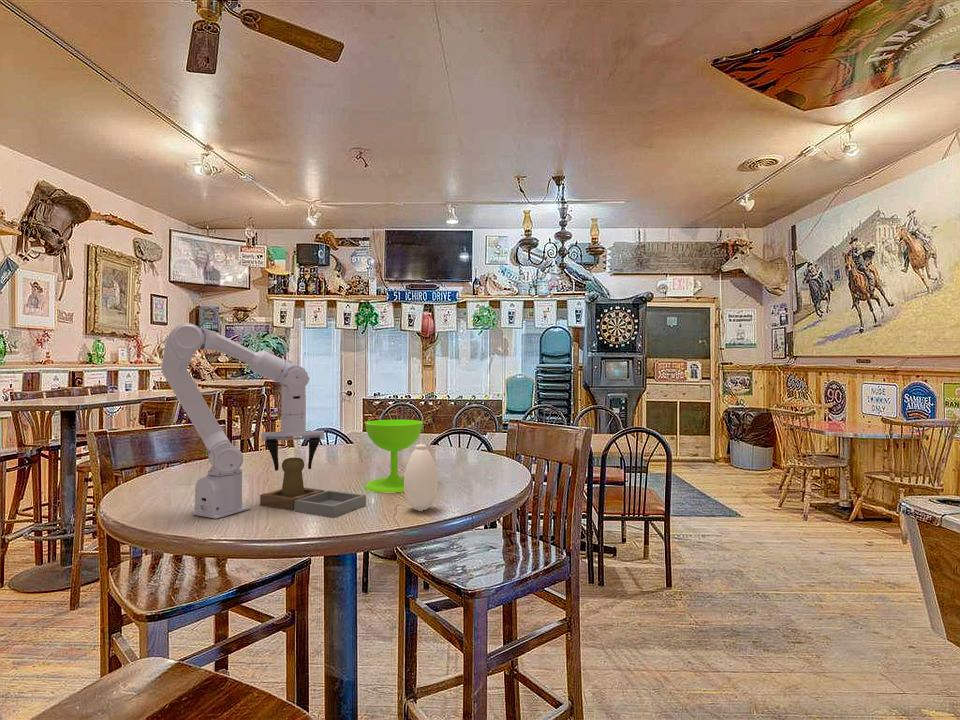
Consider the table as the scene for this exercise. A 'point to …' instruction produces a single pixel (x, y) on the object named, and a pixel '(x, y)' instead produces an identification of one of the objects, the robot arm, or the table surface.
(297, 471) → the cork
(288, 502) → the socket block
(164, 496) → the table surface
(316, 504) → the tray
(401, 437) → the wineglass
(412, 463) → the sauce bottle
